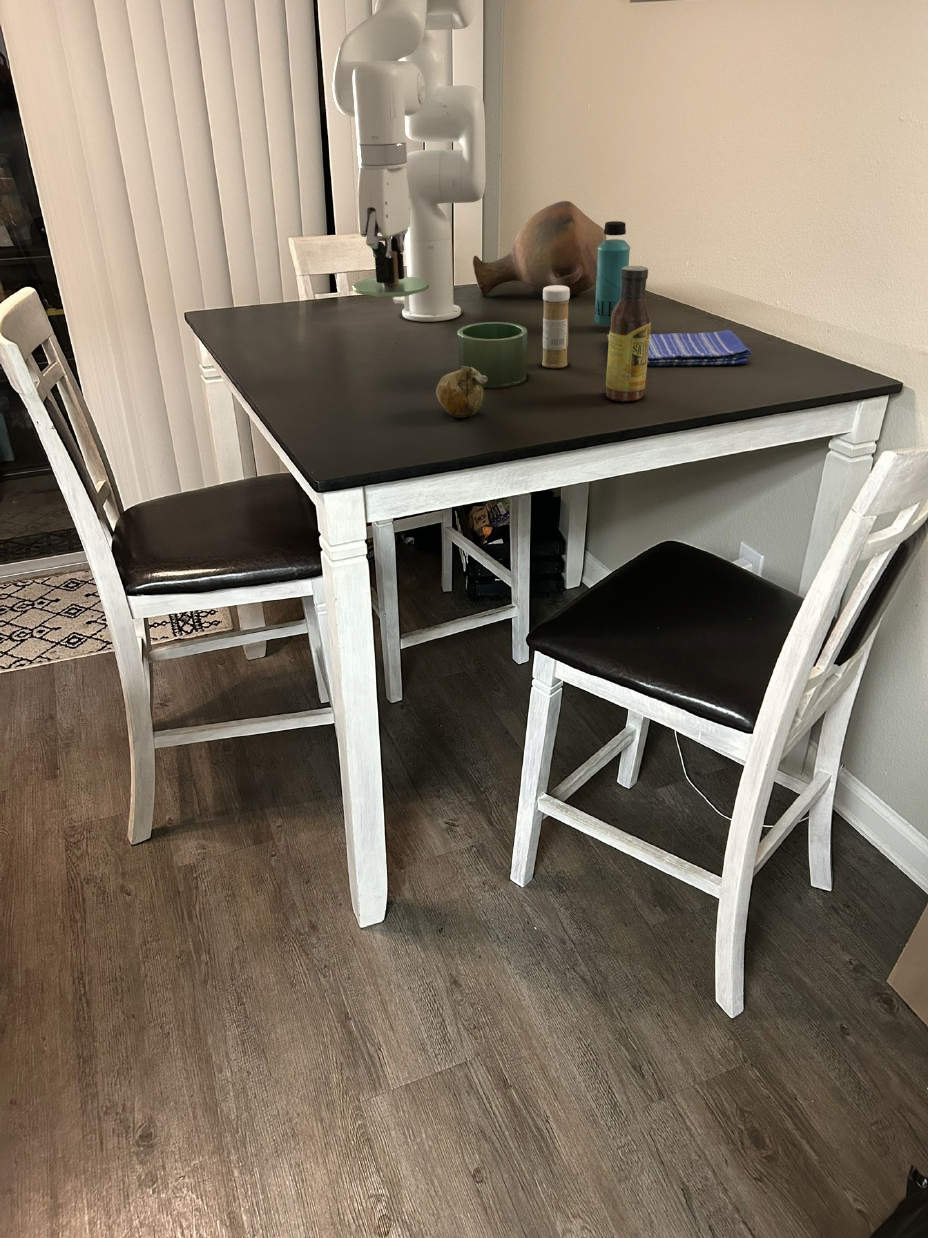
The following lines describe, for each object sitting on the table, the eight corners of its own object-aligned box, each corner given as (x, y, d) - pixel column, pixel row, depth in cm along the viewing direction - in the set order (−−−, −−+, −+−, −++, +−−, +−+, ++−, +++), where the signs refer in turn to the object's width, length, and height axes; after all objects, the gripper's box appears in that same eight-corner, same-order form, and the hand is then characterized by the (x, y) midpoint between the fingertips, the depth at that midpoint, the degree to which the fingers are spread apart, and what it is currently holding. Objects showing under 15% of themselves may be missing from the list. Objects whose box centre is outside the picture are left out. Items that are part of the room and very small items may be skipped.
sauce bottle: (634, 405, 144) (645, 273, 134) (598, 399, 147) (605, 270, 137) (650, 394, 149) (661, 265, 139) (615, 388, 152) (623, 262, 141)
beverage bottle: (624, 324, 186) (631, 218, 176) (626, 333, 181) (633, 224, 170) (592, 324, 187) (597, 218, 176) (593, 333, 181) (598, 224, 171)
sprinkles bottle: (568, 362, 165) (571, 284, 158) (565, 369, 161) (568, 290, 154) (543, 361, 166) (544, 284, 159) (540, 368, 162) (541, 290, 155)
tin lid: (339, 297, 149) (335, 257, 146) (374, 281, 159) (372, 243, 156) (409, 302, 145) (407, 260, 142) (441, 285, 155) (439, 246, 152)
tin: (448, 384, 156) (447, 336, 152) (473, 365, 165) (473, 319, 161) (512, 391, 152) (513, 342, 148) (535, 371, 161) (536, 324, 157)
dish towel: (752, 366, 160) (754, 349, 159) (616, 367, 161) (617, 351, 160) (731, 339, 175) (733, 324, 174) (606, 341, 176) (607, 326, 175)
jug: (614, 288, 214) (489, 308, 221) (605, 197, 208) (477, 221, 215) (607, 289, 195) (472, 311, 203) (598, 189, 189) (458, 216, 197)
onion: (482, 404, 147) (481, 354, 143) (489, 421, 140) (488, 369, 136) (435, 407, 146) (432, 357, 142) (440, 424, 139) (437, 372, 135)
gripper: (384, 151, 149) (391, 269, 159) (335, 161, 137) (347, 289, 146) (426, 151, 147) (431, 272, 156) (380, 162, 134) (389, 292, 144)
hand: (390, 279), depth 151 cm, fingers closed on tin lid, 2 cm apart
